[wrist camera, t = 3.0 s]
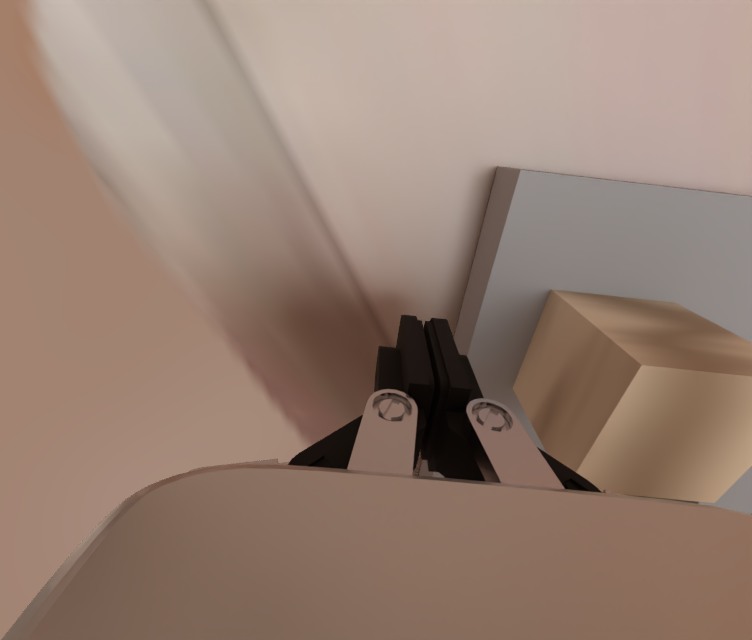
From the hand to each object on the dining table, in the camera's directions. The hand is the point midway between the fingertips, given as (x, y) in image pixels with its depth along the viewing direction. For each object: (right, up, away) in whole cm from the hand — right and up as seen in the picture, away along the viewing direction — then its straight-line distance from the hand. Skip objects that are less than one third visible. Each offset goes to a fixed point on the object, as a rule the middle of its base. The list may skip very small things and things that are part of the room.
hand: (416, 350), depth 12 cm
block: (+8, 0, +2) cm, 8 cm away
